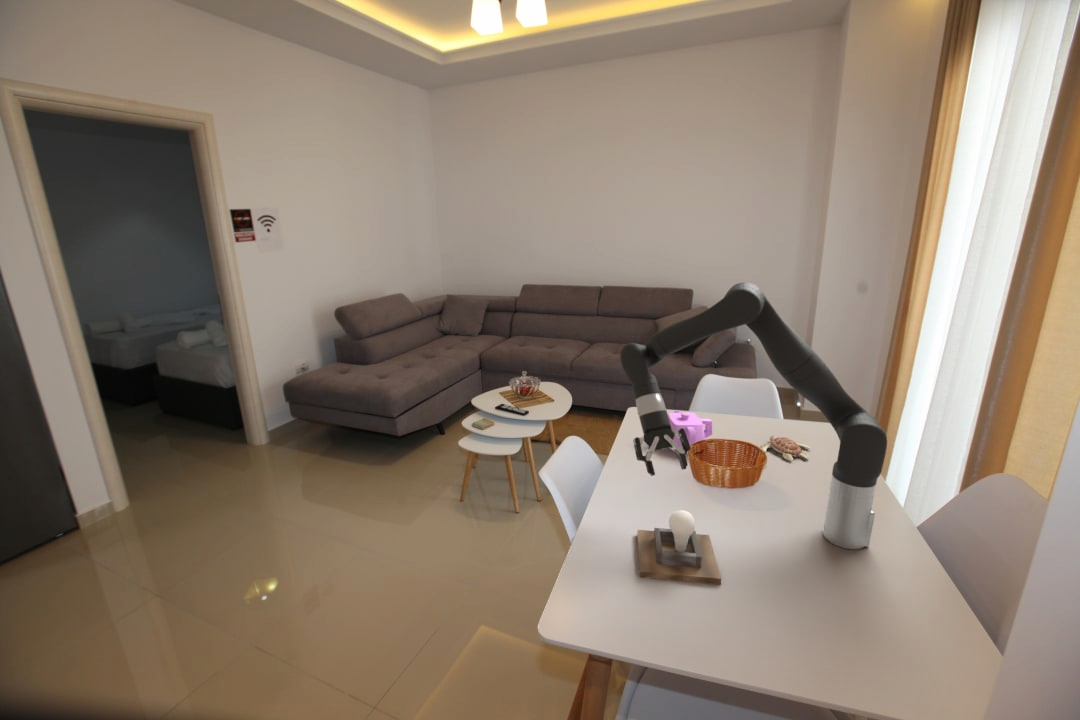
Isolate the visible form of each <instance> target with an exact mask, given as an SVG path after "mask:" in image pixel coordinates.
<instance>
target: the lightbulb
mask: <svg viewBox="0 0 1080 720" xmlns="http://www.w3.org/2000/svg"><path fill="white" fill-rule="evenodd" d="M668 524H669V525H668V526H669V529H671V531H672V532H673V535H674V542H675V549H676V551H678V552H685V551H686V546H687V543H688V539H689V537H690V535H691V534H692V533H693V532H694V531H696V530H695V529H696V521H695V518H694V516H693V515H692V514H691V513H690V512H688V511H687V510H682V509H681V510H680V509H679V510H675V511H674V512H673V513H671V514H670V516H669V519H668Z"/></svg>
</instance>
